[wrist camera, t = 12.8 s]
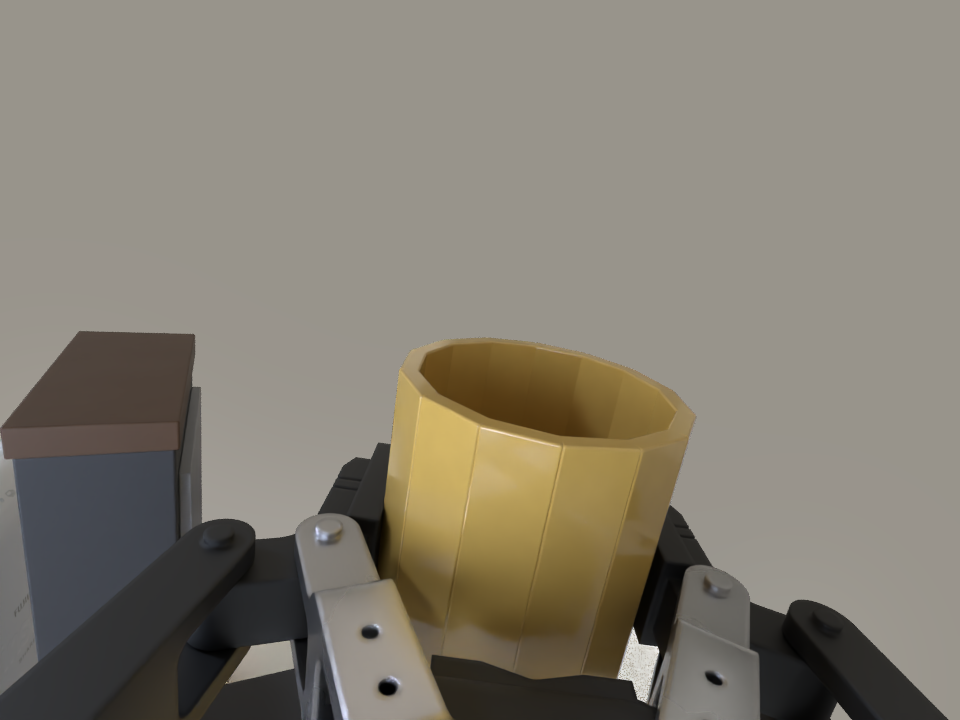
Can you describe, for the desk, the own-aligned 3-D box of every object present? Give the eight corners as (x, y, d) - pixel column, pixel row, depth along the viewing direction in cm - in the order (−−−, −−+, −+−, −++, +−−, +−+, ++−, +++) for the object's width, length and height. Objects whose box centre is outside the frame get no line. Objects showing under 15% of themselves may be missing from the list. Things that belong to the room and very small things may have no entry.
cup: (393, 937, 10) (474, 463, 7) (338, 675, 16) (371, 333, 12) (632, 825, 13) (766, 439, 10) (516, 632, 18) (580, 340, 15)
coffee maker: (-60, 1434, 9) (-338, 837, 5) (106, 690, 22) (78, 330, 18) (605, 1005, 16) (776, 566, 11) (434, 619, 29) (479, 341, 24)
